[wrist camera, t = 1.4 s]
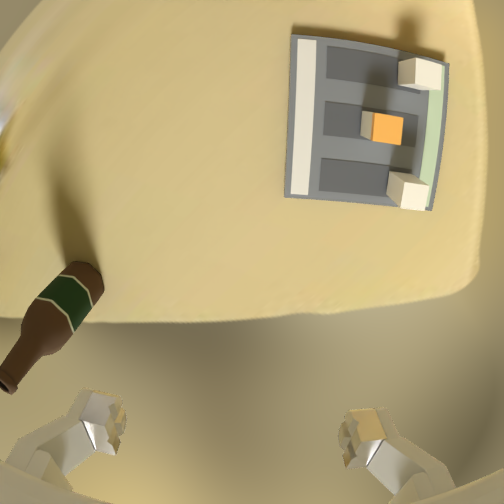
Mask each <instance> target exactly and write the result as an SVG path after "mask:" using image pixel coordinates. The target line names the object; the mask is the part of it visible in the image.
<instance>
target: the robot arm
mask: <svg viewBox="0 0 504 504" xmlns="http://www.w3.org/2000/svg"><path fill="white" fill-rule="evenodd" d="M122 404H123V401H122V397H121V396H118V395H113V394H109V393H105V392H101V391H97V390H93V389H89V388H85V387H83V388H82V389H81V390H80V392H79V393H78V395H77V397H76V398H75V400H74V402H73V404H72V406H71V408H70V409H69V411H68V413H67V415H66V416H61V417H59V418H57V419H55V420H54V421H52V422H50V423H48V424H46V425H44V426H42V427H40V428H38V429H37V430H35V431H33V432H31V433H29V434H27V435H25V436H24V437H21V438H19V439H18V440H17V442H16V443H15V445H14V447H13V449H12V450H11V452H10V454H9V456H8V458H7V459H6V461H5V462H3V461H1V460H0V504H111V503H108V502H104V501H101V500H97V499H94V498H91V497H88V496H85V495H82V494H79V493H75V492H73V491H72V490H73V488H72V486H71V484H70V483H69V482H68V480H67V479H66V478H65V475H67V474H68V473H69V472H71V471H72V470H73V469H74V468H76V467H77V466H78V465H79V464H81V463H82V462H83V461H85V460H86V459H87V458H88V457H90V456H91V455H92V454H93V453H95V451H99V452H103V453H108V454H112V455H116V454H117V451H118V448H119V445H120V443H121V442H120V439H119V436H120V435H122V434H123V433H124V431H125V427H126V413H125V410H124V409H123V408H122V407H121V406H122ZM344 417H345V422H344V423H342V424H341V426H340V428H339V434H338V439H339V445H340V447H341V448H342V449H343V450H345V451H344V453H343V455H342V457H343V460H344V464H345V468H346V469H352V468H361V467H367V469H368V470H369V471H370V472H371V473H372V474H373V475H374V476H375V477H376V478H377V479H378V480H379V481H380V482H381V483H382V484H383V485H384V486H385V487H387V488H388V489H389V490H390V491H391V492H392V493H393V494H394V495H395V496H394V497H393V498H392V500H390V502H389V503H388V504H504V468H502V469H500V470H498V471H496V472H494V473H492V474H490V475H487V476H485V477H483V478H481V479H478V480H476V481H474V482H471V483H469V484H466V485H464V486H461V487H458V488H456V487H455V485H454V483H453V480H452V478H451V476H450V474H449V472H448V470H447V467H446V465H445V464H443V463H442V462H440V461H439V460H437V459H435V458H434V457H432V456H431V455H429V454H428V453H426V452H425V451H424V450H422V449H421V448H419V447H418V446H416V445H415V444H413V443H412V442H410V441H409V440H407V439H406V438H405V437H400V436H399V434H398V431H397V429H396V427H395V425H394V422H393V420H392V418H391V416H390V414H389V411H388V409H387V408H386V407H379V408H367V409H357V410H348V411H347V412H346V414H345V416H344Z"/></svg>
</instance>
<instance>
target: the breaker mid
mask: <svg viewBox="0 0 504 504" xmlns="http://www.w3.org/2000/svg"><path fill="white" fill-rule="evenodd" d="M402 128H403V118H402V117H397V116H392V115H386V114H380V113H374V112H367V111H362V119H361V131H360V135H361V136H363V137H365V138H367V139H369V140H371V141H376V142H383V143H390V144H396V145H401V138H402Z"/></svg>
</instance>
